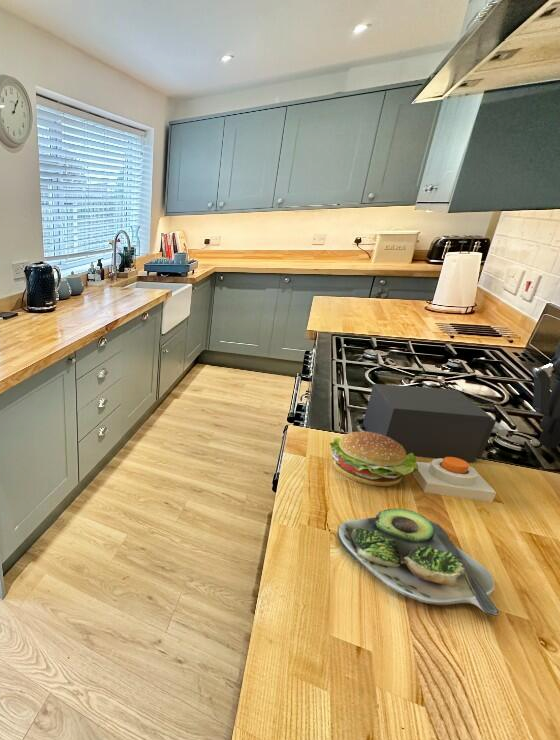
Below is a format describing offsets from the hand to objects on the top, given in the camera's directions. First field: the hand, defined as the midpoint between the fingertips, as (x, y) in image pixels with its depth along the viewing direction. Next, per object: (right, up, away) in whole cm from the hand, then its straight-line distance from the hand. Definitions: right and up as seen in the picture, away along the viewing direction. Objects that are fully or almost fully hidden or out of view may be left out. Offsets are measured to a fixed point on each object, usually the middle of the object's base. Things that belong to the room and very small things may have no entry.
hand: (547, 444), depth 87 cm
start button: (-27, -4, -7) cm, 28 cm away
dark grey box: (-20, -1, +9) cm, 22 cm away
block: (-26, -7, -6) cm, 28 cm away
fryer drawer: (-17, 0, +7) cm, 18 cm away
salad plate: (-48, -15, -21) cm, 54 cm away
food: (-38, -6, 0) cm, 39 cm away
